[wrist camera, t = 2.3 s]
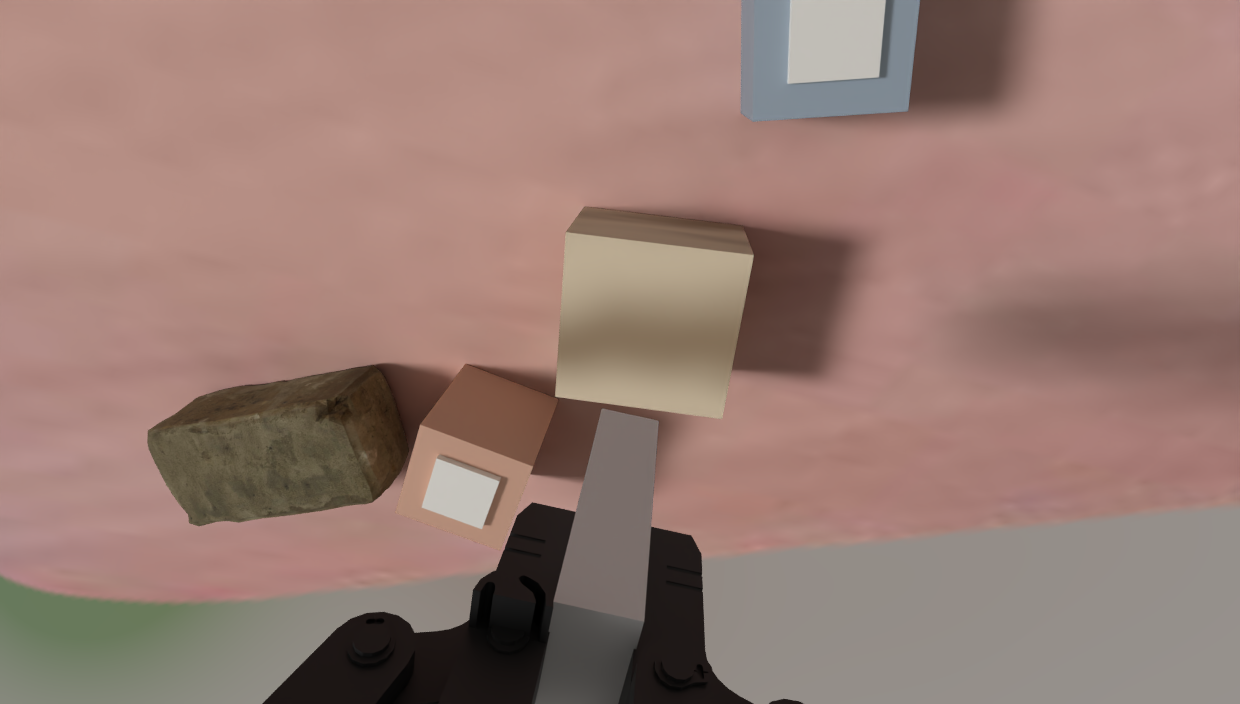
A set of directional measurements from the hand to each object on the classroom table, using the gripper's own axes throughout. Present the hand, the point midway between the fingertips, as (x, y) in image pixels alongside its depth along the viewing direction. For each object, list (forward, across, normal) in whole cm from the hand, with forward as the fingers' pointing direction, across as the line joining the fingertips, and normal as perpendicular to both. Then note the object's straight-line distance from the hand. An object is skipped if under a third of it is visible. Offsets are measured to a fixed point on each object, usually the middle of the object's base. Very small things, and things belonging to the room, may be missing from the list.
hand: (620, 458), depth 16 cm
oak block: (+14, 0, 0) cm, 14 cm away
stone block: (+14, -16, -11) cm, 24 cm away
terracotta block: (+14, -6, -8) cm, 17 cm away
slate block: (+14, +4, +12) cm, 18 cm away
